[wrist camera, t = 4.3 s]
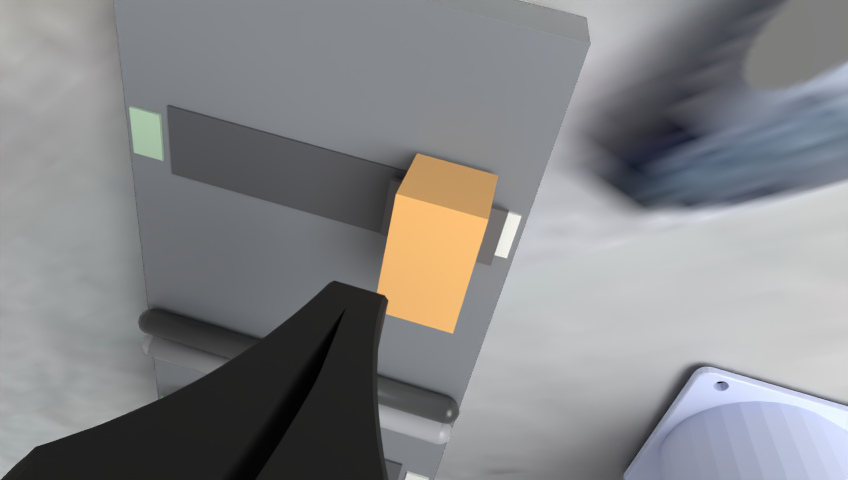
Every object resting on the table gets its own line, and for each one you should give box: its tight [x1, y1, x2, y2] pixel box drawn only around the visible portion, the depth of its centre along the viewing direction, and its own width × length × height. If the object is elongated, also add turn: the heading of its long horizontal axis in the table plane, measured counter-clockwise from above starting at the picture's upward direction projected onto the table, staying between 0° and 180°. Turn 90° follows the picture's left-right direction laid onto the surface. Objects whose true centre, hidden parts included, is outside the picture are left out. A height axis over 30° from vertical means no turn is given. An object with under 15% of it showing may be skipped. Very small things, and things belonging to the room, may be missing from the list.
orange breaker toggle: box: [377, 153, 509, 334], centre depth 16 cm, size 4×4×3 cm
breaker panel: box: [113, 0, 591, 480], centre depth 22 cm, size 13×24×4 cm, turn 168°
